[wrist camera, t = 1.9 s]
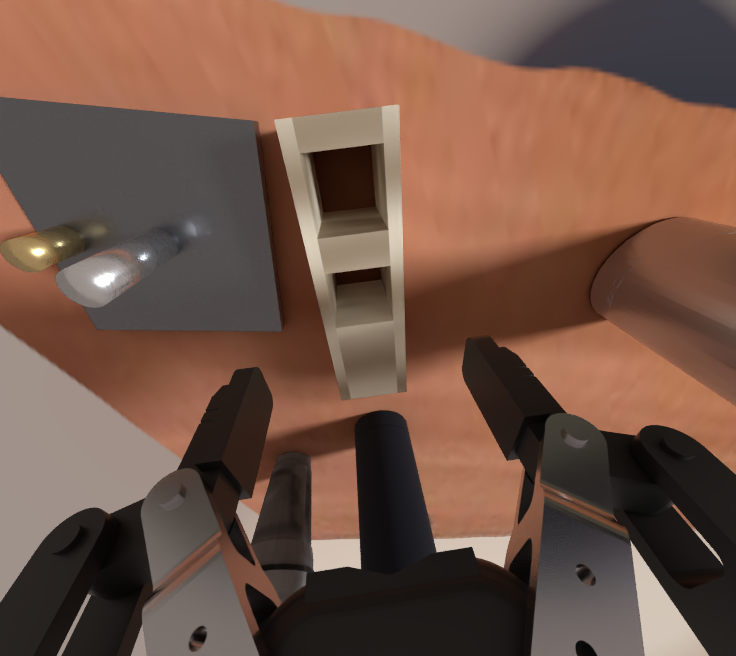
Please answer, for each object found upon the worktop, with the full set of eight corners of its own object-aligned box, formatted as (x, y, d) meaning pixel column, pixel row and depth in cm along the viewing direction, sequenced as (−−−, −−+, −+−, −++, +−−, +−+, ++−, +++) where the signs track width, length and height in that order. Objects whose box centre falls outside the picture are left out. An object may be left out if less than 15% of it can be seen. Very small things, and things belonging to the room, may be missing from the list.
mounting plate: (257, 121, 15) (202, 108, 9) (284, 325, 23) (263, 390, 17) (-26, 95, 14) (-324, 58, 8) (106, 322, 22) (13, 394, 15)
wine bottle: (417, 420, 33) (648, 1267, 8) (386, 446, 35) (488, 1135, 11) (374, 403, 30) (518, 1541, 6) (344, 433, 33) (355, 1282, 8)
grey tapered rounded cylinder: (260, 447, 33) (181, 745, 17) (319, 444, 34) (299, 728, 17) (270, 477, 37) (215, 738, 21) (323, 473, 38) (309, 725, 22)
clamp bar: (393, 343, 25) (406, 391, 20) (341, 350, 25) (341, 400, 20) (380, 116, 16) (399, 104, 11) (295, 126, 15) (274, 120, 11)
